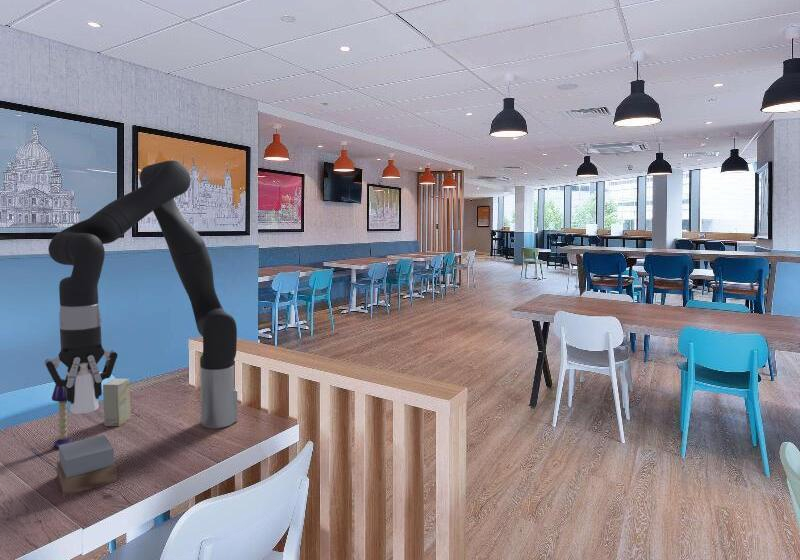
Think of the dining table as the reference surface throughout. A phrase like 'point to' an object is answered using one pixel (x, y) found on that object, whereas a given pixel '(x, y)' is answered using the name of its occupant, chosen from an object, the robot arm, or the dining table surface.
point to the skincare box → (116, 402)
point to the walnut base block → (86, 479)
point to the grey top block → (86, 456)
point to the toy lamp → (61, 415)
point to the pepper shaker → (84, 392)
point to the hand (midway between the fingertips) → (84, 399)
